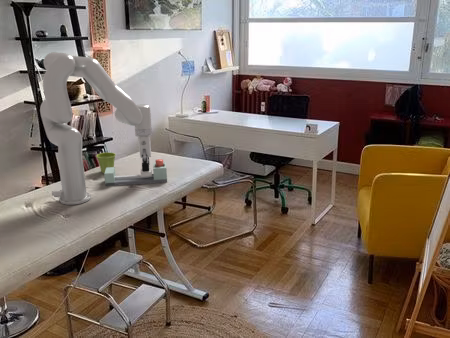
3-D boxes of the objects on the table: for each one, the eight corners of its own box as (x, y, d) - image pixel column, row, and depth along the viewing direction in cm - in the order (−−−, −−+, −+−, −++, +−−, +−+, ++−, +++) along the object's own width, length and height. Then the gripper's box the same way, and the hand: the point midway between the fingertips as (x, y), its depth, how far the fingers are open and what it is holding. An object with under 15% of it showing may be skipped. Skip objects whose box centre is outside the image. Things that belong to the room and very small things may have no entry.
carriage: (140, 176, 206) (139, 162, 204) (141, 172, 212) (140, 158, 210) (151, 176, 207) (150, 161, 205) (151, 172, 213) (150, 158, 210)
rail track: (105, 186, 203) (104, 171, 201) (107, 179, 212) (106, 165, 210) (167, 182, 207) (166, 167, 205) (166, 175, 216) (165, 162, 214)
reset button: (155, 167, 207) (155, 161, 206) (155, 165, 211) (155, 159, 210) (163, 167, 208) (163, 161, 207) (163, 165, 211) (163, 158, 210)
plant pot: (119, 168, 227) (118, 152, 225) (113, 174, 219) (112, 157, 216) (102, 168, 228) (100, 152, 226) (95, 174, 219) (93, 157, 217)
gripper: (151, 136, 195) (154, 173, 201) (151, 127, 212) (154, 162, 217) (134, 136, 194) (137, 174, 200) (135, 128, 211) (138, 163, 216)
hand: (145, 168), depth 208 cm, fingers open, 8 cm apart
